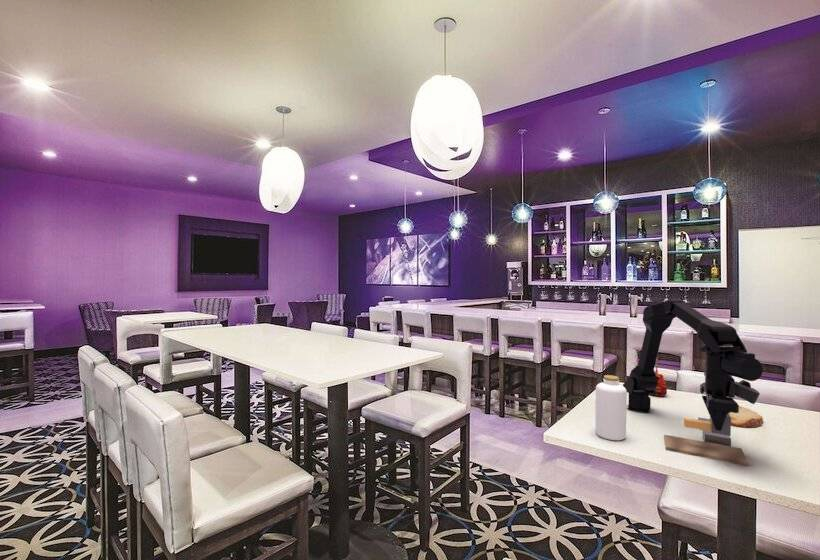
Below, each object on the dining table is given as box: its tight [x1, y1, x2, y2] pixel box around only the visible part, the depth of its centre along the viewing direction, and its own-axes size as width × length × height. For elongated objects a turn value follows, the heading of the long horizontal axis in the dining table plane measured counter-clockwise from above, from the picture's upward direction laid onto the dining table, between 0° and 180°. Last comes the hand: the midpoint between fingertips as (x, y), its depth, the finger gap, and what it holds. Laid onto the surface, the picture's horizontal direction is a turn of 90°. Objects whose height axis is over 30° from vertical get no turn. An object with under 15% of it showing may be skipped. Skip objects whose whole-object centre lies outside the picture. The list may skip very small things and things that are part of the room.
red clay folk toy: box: [649, 358, 668, 398], centre depth 161 cm, size 8×7×15 cm
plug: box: [683, 413, 732, 437], centre depth 110 cm, size 10×4×5 cm, turn 59°
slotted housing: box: [697, 417, 732, 447], centre depth 120 cm, size 6×16×2 cm, turn 149°
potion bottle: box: [594, 374, 628, 441], centre depth 119 cm, size 8×8×18 cm
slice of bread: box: [729, 405, 764, 429], centre depth 136 cm, size 18×18×4 cm
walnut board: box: [663, 434, 750, 467], centre depth 110 cm, size 18×10×1 cm, turn 59°
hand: (717, 427), depth 108 cm, fingers closed on plug, 4 cm apart
